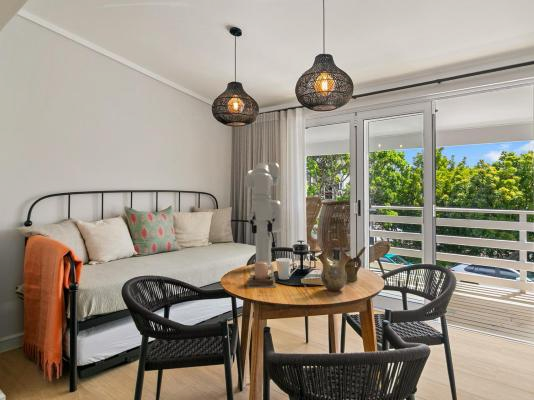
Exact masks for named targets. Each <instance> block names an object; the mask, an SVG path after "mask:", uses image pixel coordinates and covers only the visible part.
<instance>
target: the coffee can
mask: <svg viewBox="0 0 534 400" xmlns="http://www.w3.org/2000/svg"><path fill="white" fill-rule="evenodd" d="M341 247H342V249H343V251H344V252H345V253H346V254H347V255H349V256H350V257H351V248H350V247H346V246H341ZM340 260H341V252H340V248H339V246H336V247H335V246H334V247H332V264H337V263H338V262H339V261H340Z"/></svg>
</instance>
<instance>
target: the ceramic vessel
mask: <svg viewBox="0 0 534 400" xmlns="http://www.w3.org/2000/svg"><path fill="white" fill-rule="evenodd" d="M331 242H336V243H337V245H338V247H339V248H340V252H341V260H340V261H339V262H338V263H337V264H333V263H331V262H330V261H329V260H328V259H327V257H328V256H327V254H328V249H329V246H330V244H331ZM342 247H343V246H342V245H341V242H340V240H338V239H336V238H331V239H329V240H328V241H327V243H326V246H325V247H324V250H323V251H322V252H321V253H320V254H318V255H316V258H317V260H319V261H320V263H321V265H322V270H321V275H320V278H321V282H322V285H323V286H324V288H326V289H327V290H328V291H332V292H339V291H340V290H342V289H344V287H345V286H346V284H347V282H346V280H347V275H346V271H345V264H346V262H347V261H348V260H349V259H350V258H352V256H351V255H350V256H349V255H347V254H346V253H345V252H344V251H343V249H342Z"/></svg>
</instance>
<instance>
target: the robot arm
mask: <svg viewBox="0 0 534 400" xmlns="http://www.w3.org/2000/svg"><path fill="white" fill-rule="evenodd" d="M280 173H281V169H280V165H279V163H277V162H260V163H257V165H256V166H255V168H254V169H251V170H249V171H247V173H246V175H245V179H244V180H245V181H244V182H245V186H246V188H247V189H250V190H251V189H253V191H254V192H253V193H254V194H253V195H254V196H253V197H254V198H253V201H252V204H251V210H250V211H251V213H250V214H249V215H247V216H246V217H247V220H248V222H249V224H250V226H251V233H252V234H255V262H268V266H269V265H273V264H272V248H271V247H272V241H271V237H270V236H269V234H267V233H280V232H281V231H282V229H283V227H282V226H283V219H282V218H283V216H282V215H283V213H282V203H281V201H280V200H278V199H277V200H276V199H271V198H272V197H271V195H270V188H271V187H272V186H278V185H279V183H280V179H281V177H280V176H281V174H280ZM253 268H254V269H255V264H253ZM268 270H271V268H268Z"/></svg>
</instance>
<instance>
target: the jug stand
mask: <svg viewBox="0 0 534 400" xmlns="http://www.w3.org/2000/svg"><path fill="white" fill-rule="evenodd" d="M249 276H250V277H248V280H247V286H246V289H276V288H277V286H276V279H275V276H274V277H268V280H255V274H250V275H249Z"/></svg>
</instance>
